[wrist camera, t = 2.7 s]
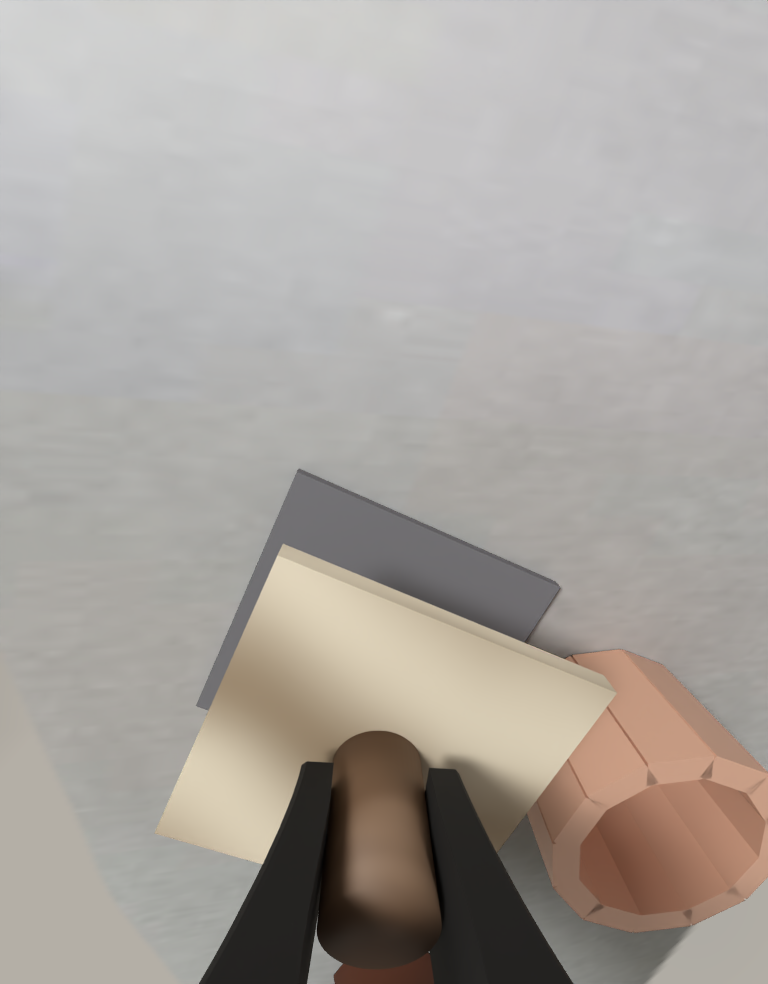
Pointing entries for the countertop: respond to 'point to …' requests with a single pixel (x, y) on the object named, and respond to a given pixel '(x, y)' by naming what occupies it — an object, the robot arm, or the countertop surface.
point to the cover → (374, 743)
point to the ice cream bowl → (388, 974)
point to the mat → (391, 564)
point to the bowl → (653, 807)
